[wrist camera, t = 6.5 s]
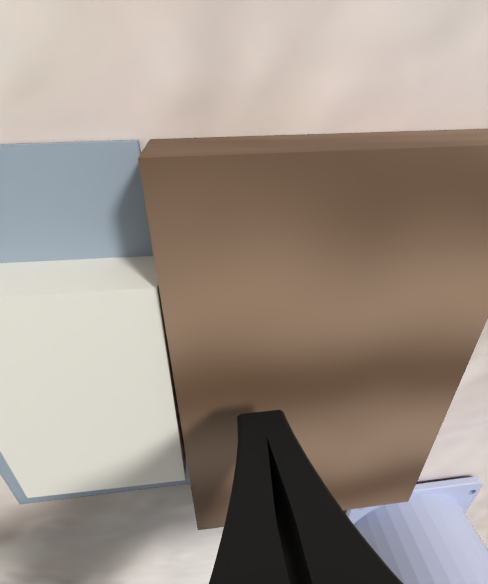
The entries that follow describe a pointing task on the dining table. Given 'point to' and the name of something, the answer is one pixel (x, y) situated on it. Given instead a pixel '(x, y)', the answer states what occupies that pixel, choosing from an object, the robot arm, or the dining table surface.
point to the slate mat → (72, 222)
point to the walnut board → (319, 296)
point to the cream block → (86, 377)
